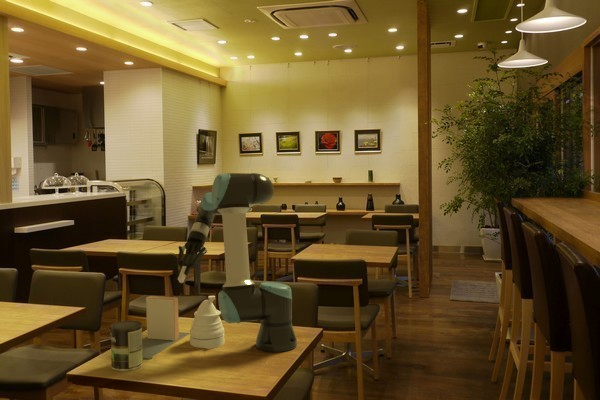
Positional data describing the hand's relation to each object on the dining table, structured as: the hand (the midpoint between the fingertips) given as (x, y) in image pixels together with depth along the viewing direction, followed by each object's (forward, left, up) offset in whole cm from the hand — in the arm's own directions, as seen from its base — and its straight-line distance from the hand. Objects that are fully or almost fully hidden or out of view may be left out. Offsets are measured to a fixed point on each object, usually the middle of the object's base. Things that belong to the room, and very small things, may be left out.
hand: (180, 281), depth 228 cm
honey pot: (-23, -7, -20) cm, 31 cm away
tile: (-13, +8, -19) cm, 24 cm away
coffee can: (-38, +22, -20) cm, 48 cm away
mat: (-18, +12, -20) cm, 29 cm away
